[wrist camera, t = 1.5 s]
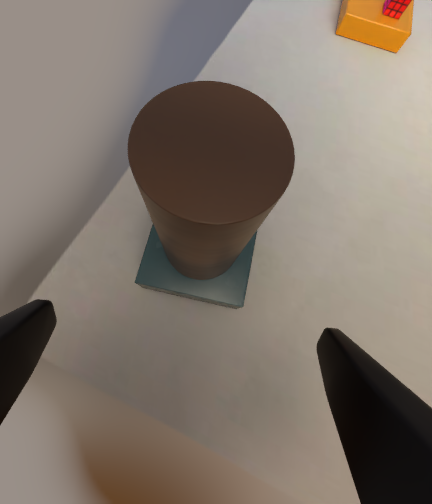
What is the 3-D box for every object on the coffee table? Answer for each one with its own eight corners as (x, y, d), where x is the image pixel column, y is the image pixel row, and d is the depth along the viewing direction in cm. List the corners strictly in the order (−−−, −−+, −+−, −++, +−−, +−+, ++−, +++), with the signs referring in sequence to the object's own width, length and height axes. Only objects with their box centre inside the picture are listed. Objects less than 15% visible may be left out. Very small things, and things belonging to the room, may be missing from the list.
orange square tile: (335, 34, 31) (357, -10, 26) (343, -7, 33) (365, -53, 29) (396, 53, 31) (427, 12, 27) (400, 11, 33) (430, -32, 29)
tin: (236, 309, 21) (243, 307, 18) (142, 287, 20) (134, 282, 18) (252, 222, 23) (261, 208, 20) (168, 202, 23) (164, 185, 20)
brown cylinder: (230, 287, 18) (283, 243, 8) (155, 270, 18) (102, 200, 7) (244, 218, 20) (304, 101, 9) (175, 202, 19) (155, 63, 9)
